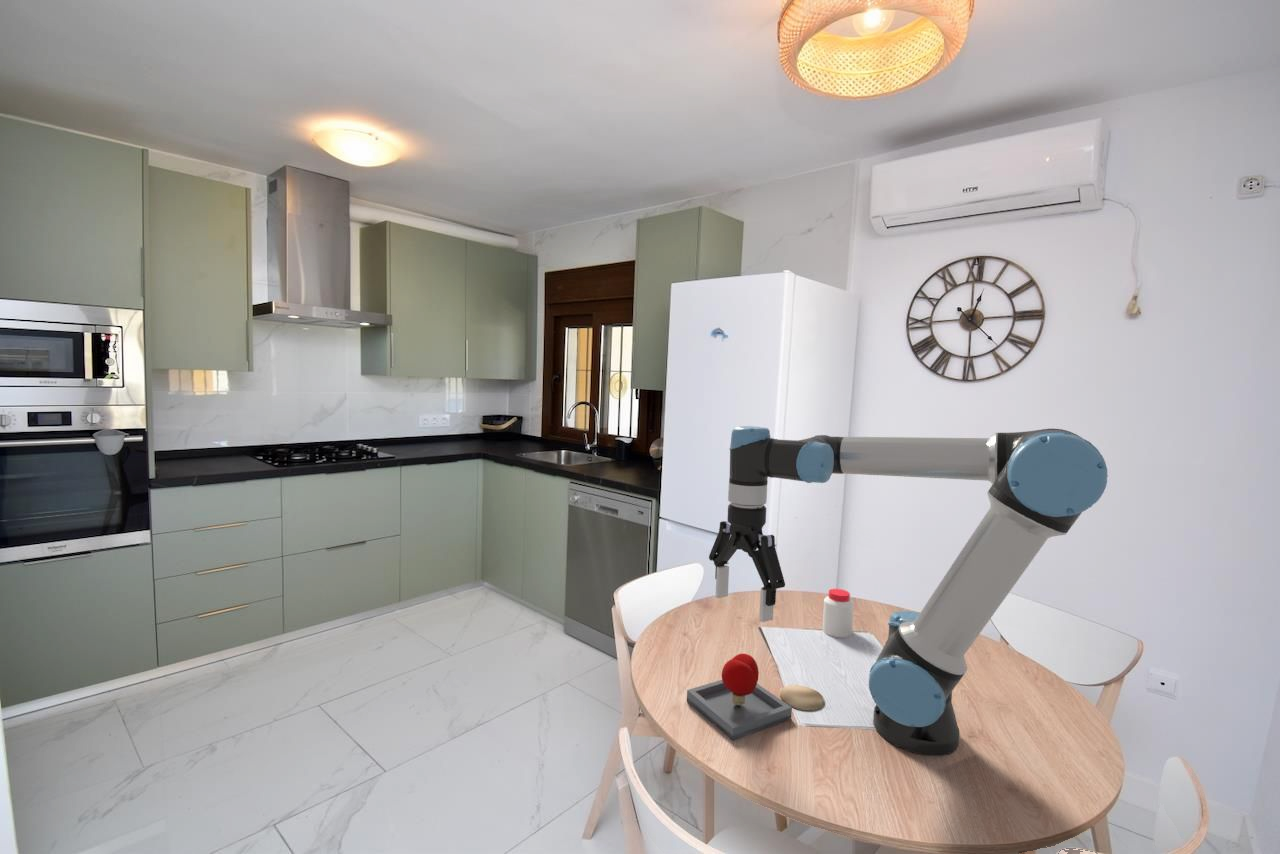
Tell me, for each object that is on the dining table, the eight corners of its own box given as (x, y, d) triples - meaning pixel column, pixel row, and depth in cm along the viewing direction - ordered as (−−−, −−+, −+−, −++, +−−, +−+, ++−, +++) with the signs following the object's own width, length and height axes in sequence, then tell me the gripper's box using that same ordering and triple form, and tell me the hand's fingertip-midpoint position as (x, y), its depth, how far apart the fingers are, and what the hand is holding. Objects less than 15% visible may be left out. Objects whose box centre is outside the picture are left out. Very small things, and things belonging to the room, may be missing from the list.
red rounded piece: (742, 721, 113) (746, 671, 112) (711, 708, 117) (714, 660, 117) (763, 703, 121) (766, 656, 120) (733, 691, 125) (736, 645, 124)
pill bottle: (816, 628, 160) (818, 589, 159) (837, 623, 163) (839, 585, 163) (836, 639, 153) (838, 599, 152) (858, 635, 156) (860, 595, 156)
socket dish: (791, 718, 116) (791, 707, 116) (732, 740, 109) (733, 728, 109) (742, 683, 129) (742, 673, 129) (686, 701, 122) (687, 690, 121)
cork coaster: (832, 703, 122) (832, 701, 122) (802, 714, 118) (802, 712, 118) (801, 683, 130) (801, 681, 130) (771, 693, 126) (771, 691, 126)
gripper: (807, 515, 107) (802, 627, 108) (722, 491, 128) (719, 585, 130) (777, 519, 103) (772, 635, 105) (695, 494, 124) (691, 590, 126)
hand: (742, 608), depth 117 cm, fingers open, 13 cm apart
